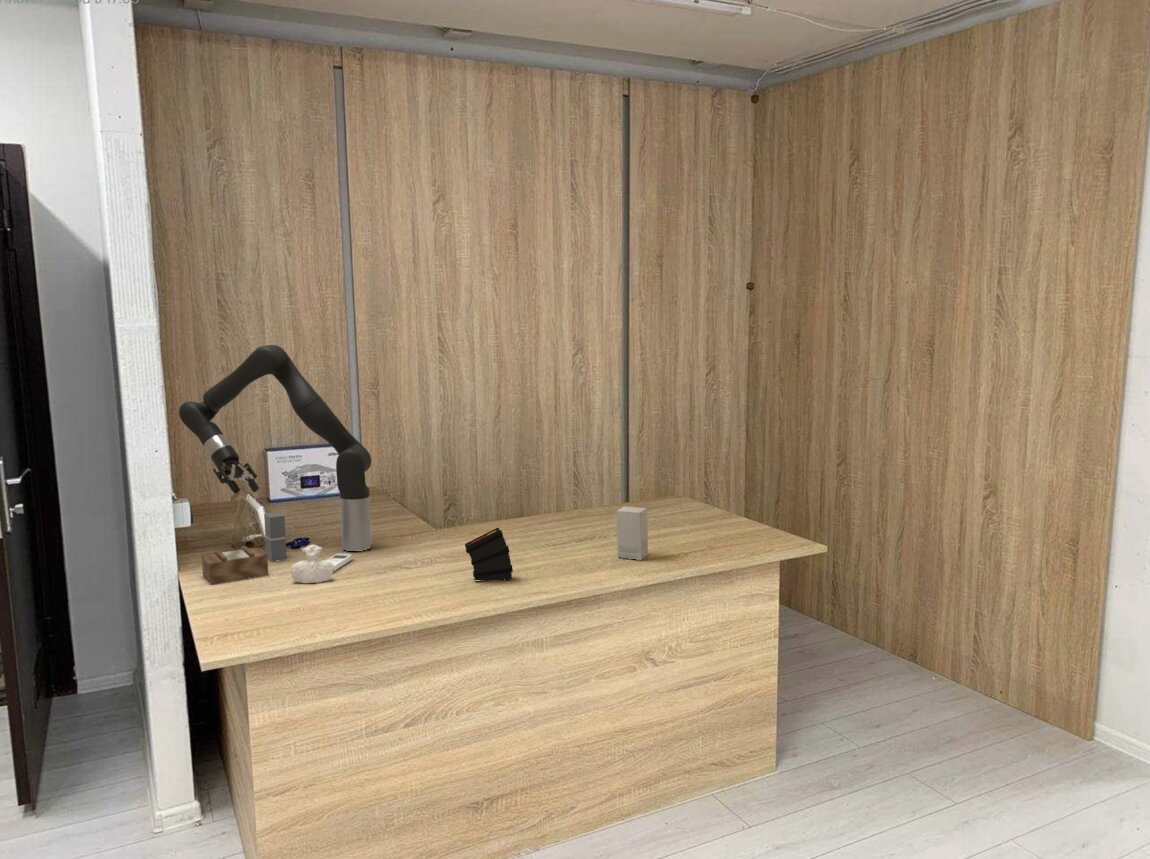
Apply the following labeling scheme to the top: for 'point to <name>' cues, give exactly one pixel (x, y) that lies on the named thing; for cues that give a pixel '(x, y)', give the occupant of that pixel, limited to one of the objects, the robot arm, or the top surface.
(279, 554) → the stacked grey cubes
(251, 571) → the stand
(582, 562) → the top surface
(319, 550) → the tied plastic bag
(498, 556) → the magazine
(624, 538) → the skincare box
